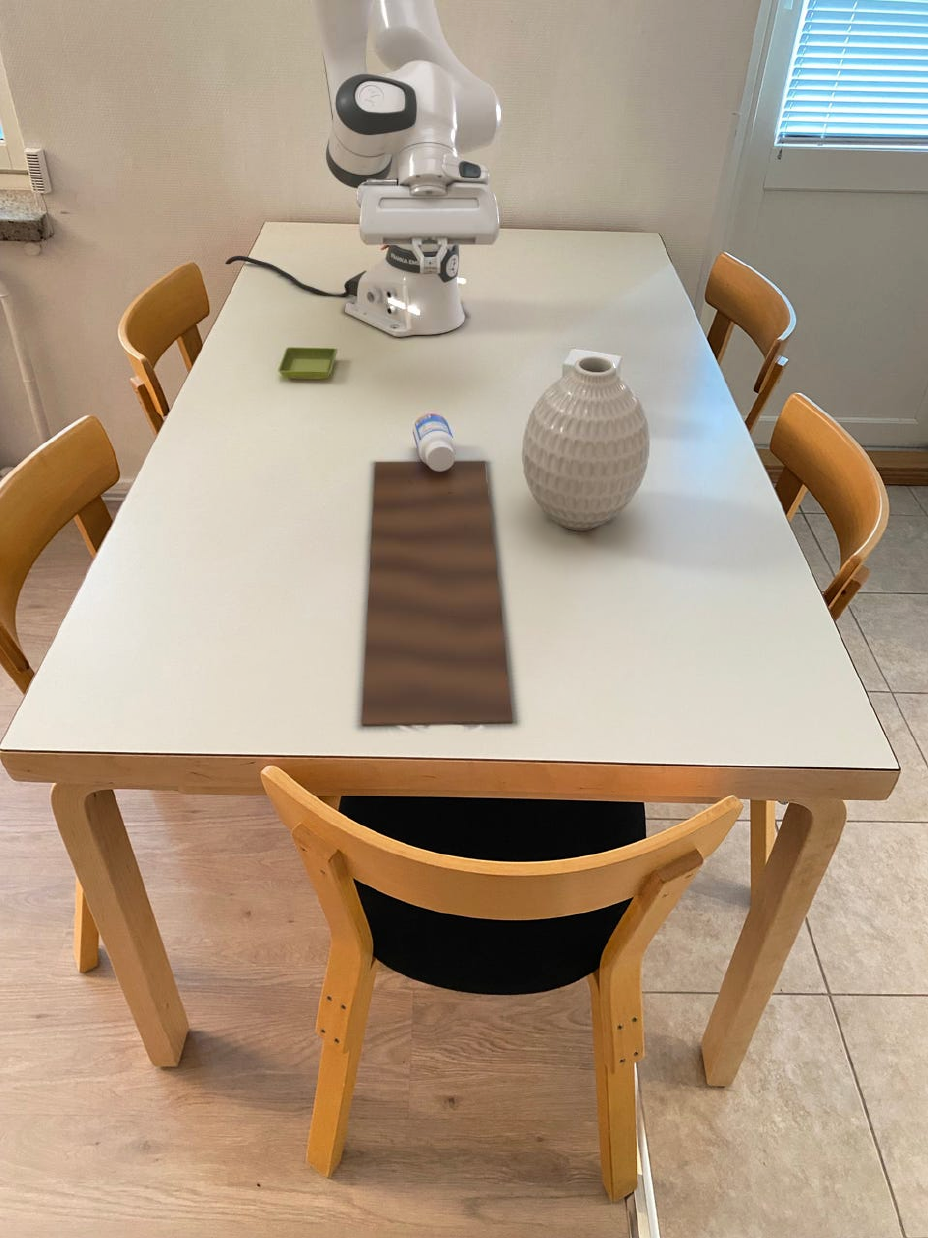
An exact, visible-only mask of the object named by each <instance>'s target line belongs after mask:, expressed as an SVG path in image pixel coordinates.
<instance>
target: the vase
mask: <svg viewBox="0 0 928 1238" xmlns="http://www.w3.org/2000/svg"><path fill="white" fill-rule="evenodd" d="M650 435H651V434H650V429H649V423H648V420H647V417H646V413H645V410H644V408H643V406H642V403H641V401H640V400H639V398H638V397H637V395H636V394H635V392H634V390H632V389H631V388H630V386H629V385H628V384H627V383H626V382H625V381H624V380H623V379H622V378H621V376H620V377H619V376H618V375H617V373H616V367H615V365H614V364H613V363H612V362H611V361H610V360H608V359H605V358H602V357H595V356H591V357H584V358H581V359H579V360H578V361H576V362H575V365H574V368H573V370H571V371H570V372H569V373H567V374H566V375H565V376H563V377H562V376H561V377H560V378H559V379H557V380H556V381H555V382H553V383H552V384H551V385H550V386H548V388H547V389H546V390H545V391H544V392H543V393H542V394H541V395H540V397H539V398H538V400H537V401H536V403H535V404H534V407H533V408H532V410H531V412H530V414H529V416H528V419H527V421H526V424H525V429H524V434H523V439H522V448H521V460H522V469H523V474H524V478H525V480H526V484H527V486H528V487H527V488H528V490H529V491H530V493H531V495H532V497H533V498H534V500H535V501H536V503H537V504H538V506H539V507H540V509H542V511H543V512H544V513H545V514H546V515H547V517H549V518H550V519H551V520H553V521H554V522H555V523H557V524H558V526H561V527H562V528H565V529H568V530H573V531H589V530H593V529H596V528H598V527H599V526H601V525H604V524H606V523H608V522H609V521H611V520H612V519H613V518H614V517H615V516H617V515H618V514H619V513H620V512H622V511H623V509H624V508H626V506H628V504H629V503H630V502H631V501H632V500H633V498H634V497H635V495H636V494H637V492H638V490H639V488H640V486H641V484H642V482H643V479H644V477H645V474H646V471H647V468H648V463H649V457H650V442H651V441H650V440H651V437H650Z"/></svg>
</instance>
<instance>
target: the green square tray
mask: <svg viewBox="0 0 928 1238" xmlns="http://www.w3.org/2000/svg"><path fill="white" fill-rule="evenodd" d="M337 352H338V348H334V347H333V348H330V347H297V346H296V347H293V346H291V347H286V349H285V351H284V352H283V355H282V359H281V361H280V364H279V367H278V370H277V372H278V373H279V374H281V375H282V376H283V377H284V378H286V379H290V380H326V379H327V378H328V377H330V375H331V373H332V371H333V367H334V363H335V360H336V356H337Z"/></svg>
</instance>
